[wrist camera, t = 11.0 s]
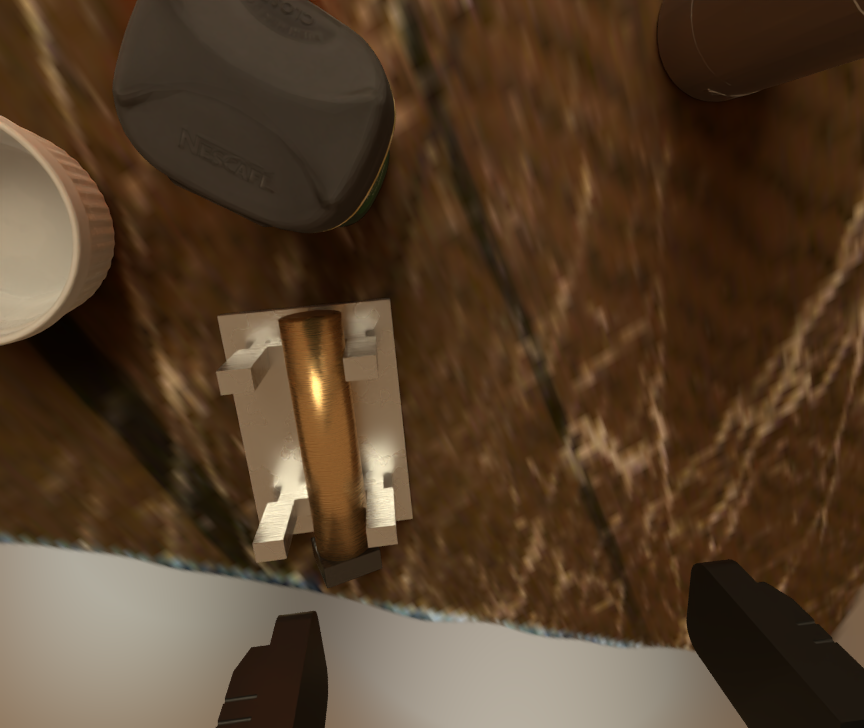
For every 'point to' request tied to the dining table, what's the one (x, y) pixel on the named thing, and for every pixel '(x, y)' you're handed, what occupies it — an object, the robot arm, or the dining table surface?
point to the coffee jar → (258, 108)
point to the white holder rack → (276, 429)
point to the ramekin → (47, 234)
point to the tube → (328, 444)
